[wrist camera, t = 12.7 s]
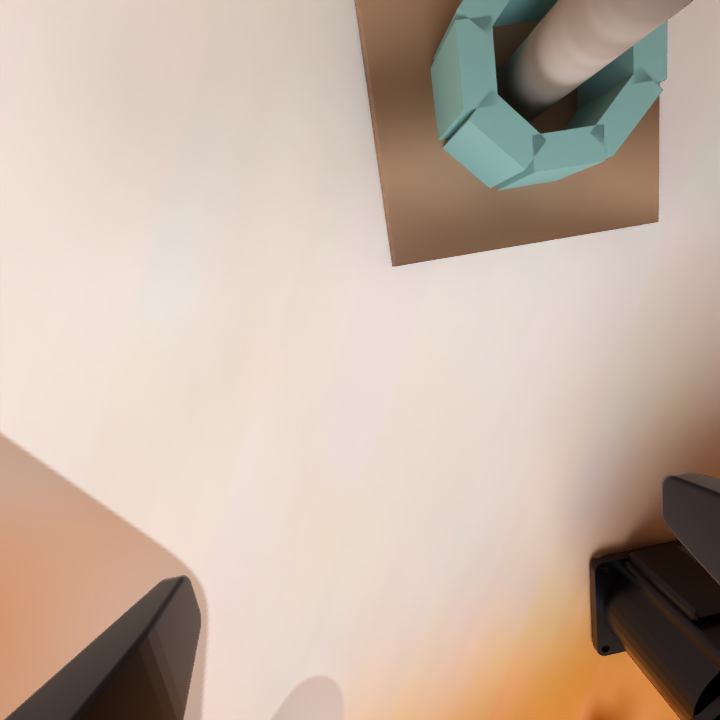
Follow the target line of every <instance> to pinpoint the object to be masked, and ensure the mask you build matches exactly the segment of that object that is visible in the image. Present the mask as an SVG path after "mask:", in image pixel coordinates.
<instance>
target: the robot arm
mask: <svg viewBox="0 0 720 720" xmlns="http://www.w3.org/2000/svg"><path fill="white" fill-rule="evenodd" d="M662 517H663V520H664V522H665V524H666V525H667V527H668V528H669V529H670V531H671V532H672V533H673V534H674V535H675V536H676V537H677V538H678V539H679V541H674V542H670V543H665V544H660V545H656V546H651V547H646V548H642V549H637V550H632V551H628V552H623V553H618V554H614V555H609V556H604V557H600V558H597V559H595V560H593V561H592V563H591V565H590V576H591V603H592V630H593V646H594V648H595V649H596V651H597V652H598V653H599V654H600V655H602V656H606V655H611V654H615V653H620V652H624V651H626V652H627V653H628V655H629V656H630V657H631V658H632V659H633V661H634V662H635V663H636V664H637V666H638V667H639V668H640V669H641V671H642V672H643V673H644V674H645V676H646V677H647V678H648V679H649V681H650V682H651V683H652V684H653V686H654V687H655V688H656V689H657V691H658V692H659V693H660V694H661V696H662V697H663V698H664V699H665V701H666V702H667V703H668V704H669V706H670V707H671V708H672V709H673V711H674V712H675V713H676V714H677V716H678V717H679V718H680V719H681V720H720V479H718V478H714V477H709V476H705V475H700V474H696V473H692V472H682V473H677V474H672V475H668V476H666V477H665V478H664V479H663V481H662ZM200 628H201V614H200V609H199V606H198V603H197V600H196V597H195V593H194V590H193V587H192V584H191V581H190V579H189V578H188V577H187V576H185V575H182V576H177V577H172V578H168V579H164V580H162V581H161V582H160V583H158V584H157V585H156V586H155V587H154V588H153V589H151V590H150V591H149V592H148V593H147V594H146V595H145V596H144V597H142V598H141V599H140V600H139V601H138V602H137V603H136V604H135V605H133V606H132V607H131V608H130V609H129V610H128V611H127V612H125V613H124V614H123V615H122V616H121V617H120V618H119V619H118V620H117V621H115V622H114V623H113V624H112V625H111V626H110V627H108V629H106V630H105V631H104V632H103V633H102V634H101V635H99V636H98V637H97V638H96V639H95V640H94V641H93V642H92V643H90V644H89V645H88V646H87V647H86V648H85V649H84V650H82V651H81V652H80V653H79V654H78V655H77V656H76V657H75V658H74V659H72V660H71V661H70V662H69V663H68V664H67V665H66V666H64V667H63V668H62V669H61V670H60V671H59V672H58V673H56V674H55V676H53V677H52V678H51V679H50V680H49V681H47V682H46V683H45V684H44V685H43V686H42V687H41V688H39V689H38V690H37V691H36V692H35V693H34V694H33V695H32V696H31V697H29V698H28V699H27V700H26V701H25V702H24V703H22V704H21V705H20V706H19V707H18V708H17V709H16V710H15V711H14V712H12V713H11V714H10V715H9V716H8V717H7V718H6V719H4V720H184V714H185V710H186V704H187V698H188V693H189V688H190V682H191V677H192V672H193V666H194V661H195V655H196V650H197V644H198V639H199V633H200Z"/></svg>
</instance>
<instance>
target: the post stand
mask: <svg viewBox="0 0 720 720" xmlns="http://www.w3.org/2000/svg"><path fill="white" fill-rule="evenodd" d="M462 1H463V0H355V4H356V11H357V19H358V26H359V33H360V40H361V47H362V54H363V61H364V68H365V75H366V82H367V89H368V96H369V103H370V110H371V117H372V124H373V132H374V139H375V146H376V153H377V160H378V167H379V174H380V181H381V188H382V195H383V202H384V209H385V216H386V223H387V230H388V237H389V245H390V252H391V259H392V266H400V265H406V264H412V263H418V262H424V261H429V260H435V259H441V258H447V257H453V256H459V255H465V254H471V253H477V252H483V251H489V250H494V249H500V248H506V247H512V246H518V245H524V244H530V243H536V242H542V241H548V240H554V239H560V238H565V237H571V236H577V235H583V234H589V233H595V232H601V231H607V230H613V229H619V228H625V227H630V226H636V225H642V224H648V223H654V222H658V209H659V96H658V97H657V99H656V100H655V101H654V102H653V104H652V105H651V106H650V108H649V109H648V110H647V112H646V113H645V114H644V116H643V117H642V118H641V120H640V121H639V122H638V124H637V125H636V126H635V128H634V129H633V130H632V132H631V133H630V134H629V136H628V137H627V138H626V140H625V141H624V142H623V144H622V145H621V146H620V148H619V149H618V150H617V152H616V153H615V154H614V156H611V157H609V158H606V159H605V161H604V162H601V163H599V164H596V165H594V166H591V167H589V168H586V169H584V170H582V171H579V172H577V173H574V174H572V175H569V176H567V177H564V178H562V179H559V180H557V181H552V182H546V183H540V184H534V185H528V186H522V187H516V188H510V189H504V190H497V185H495V186H493V187H492V188H489V187H488V186H487V185H485V184H484V183H483V182H482V181H481V180H479V179H478V178H477V177H476V176H475V175H474V174H472V173H471V172H470V171H469V170H468V169H467V168H465V167H464V166H463V165H462V164H461V163H459V162H458V161H457V160H456V159H455V158H454V157H452V156H451V155H450V154H449V153H448V152H447V151H445V150H444V149H443V147H444V145H445V144H446V142H447V141H448V140H449V138H448V139H442V140H438V132H437V123H436V114H435V105H434V96H433V87H432V78H431V69H430V68H431V66H432V64H433V62H434V59H433V57H434V55H435V53H436V51H437V49H438V47H439V45H440V43H441V41H442V39H443V37H444V35H445V33H446V31H447V29H448V27H449V25H450V23H451V21H452V19H453V17H454V15H455V13H456V11H457V9H458V7H459V6H460V4H461V3H462ZM692 1H693V0H558V1H557V3H556V4H555V5H554V6H553V7H552V8H551V10H550V11H549V12H548V13H547V14H546V16H545V17H544V18H543V19H542V20H538V21H531V22H524V23H517V24H510V25H503V26H496V27H492V29H493V41H494V54H495V67H496V79H497V92H498V95H499V96H500V97H501V98H502V99H503V100H504V101H505V102H506V103H507V104H509V105H510V106H511V107H512V108H513V109H514V110H515V111H516V112H517V113H518V114H519V115H521V116H522V117H523V118H524V119H525V120H526V121H527V122H528V123H529V124H530V125H531V126H533V127H534V128H535V129H536V130H537V131H538V132H539V133H540V134H543V133H550V132H556V131H562V130H564V128H565V127H566V126H567V124H568V123H569V122H570V120H571V119H572V118H573V116H574V115H575V113H576V112H577V111H578V95H577V87H578V86H579V85H581V84H582V83H583V82H585V81H586V80H587V79H589V78H590V77H591V76H593V75H594V74H595V73H597V72H598V71H599V70H601V69H602V68H604V67H605V66H606V65H608V64H609V63H610V62H612V61H613V60H614V59H616V58H617V57H618V56H620V55H621V54H622V53H624V52H625V51H626V50H628V49H629V48H630V47H632V46H633V45H634V44H636V43H637V42H639V41H640V40H641V39H643V38H644V37H645V36H647V35H648V34H649V33H651V32H652V31H653V30H655V29H656V28H657V27H659V26H660V25H661V24H663V23H664V22H665V21H667V20H668V19H670V18H671V17H672V16H674V15H675V14H676V13H678V12H679V11H680V10H682V9H683V8H684V7H686V6H687V5H688V4H690V3H691V2H692ZM658 85H659V83H658Z"/></svg>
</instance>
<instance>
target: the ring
mask: <svg viewBox="0 0 720 720" xmlns="http://www.w3.org/2000/svg"><path fill="white" fill-rule="evenodd" d="M557 1H558V0H463V1H462V3H461V4H460V6H459V7H458V9H457V11H456V13H455V15H454V17H453V19H452V21H451V23H450V25H449V27H448V29H447V31H446V33H445V35H444V37H443V39H442V41H441V43H440V45H439V47H438V49H437V51H436V53H435V55H434V57H433V59H434V62H433V64H432V66H431V68H430V69H431V78H432V87H433V96H434V105H435V114H436V123H437V132H438V140H442V139H448V138H449V140H448V141H447V142H446V144H445V145H444V147H443V149H444V150H445V151H447V152H448V153H449V154H450V155H451V156H452V157H454V158H455V159H456V160H457V161H458V162H459V163H461V164H462V165H463V166H464V167H465V168H467V169H468V170H469V171H470V172H471V173H472V174H474V175H475V176H476V177H477V178H478V179H479V180H481V181H482V182H483V183H484V184H485V185H487V186H488V187H489V188H492V187H493V186H495V185H497V190H504V189H510V188H516V187H522V186H528V185H534V184H540V183H546V182H552V181H557V180H559V179H562V178H564V177H567V176H569V175H572V174H574V173H577V172H579V171H582V170H584V169H586V168H589V167H591V166H594V165H596V164H599V163H601V162H604V161H605V159H606V158H609V157H611V156H614V154H615V153H616V152H617V150H618V149H619V148H620V146H621V145H622V144H623V142H624V141H625V140H626V138H627V137H628V136H629V134H630V133H631V132H632V130H633V129H634V128H635V126H636V125H637V124H638V122H639V121H640V120H641V118H642V117H643V116H644V114H645V113H646V112H647V110H648V109H649V108H650V106H651V105H652V104H653V102H654V101H655V100H656V99H657V97H658V96H659V95H660V93H661V92H662V91H663V89H662V88H661V87H660V86H659V85H658V83H660V82H662V81H664V80H665V79H667V21H665V22H664V23H663V24H661V25H660V26H659V27H657V28H656V29H655V30H653V31H652V32H651V33H649V34H648V35H647V36H645V37H644V38H643V39H641V40H640V41H639V42H637V43H636V44H634V45H633V46H632V47H630V48H629V49H628V50H626V51H625V52H624V53H622V54H621V55H620V56H618V57H617V58H616V59H614V60H613V61H612V62H610V63H609V64H608V65H606V66H605V67H604V68H602V69H601V70H599V71H598V72H597V73H595V74H594V75H593V76H591V77H590V78H589V79H587V80H586V81H585V82H583V83H582V84H581V85H579V86H578V87H577V95H578V111H577V112H576V113H575V115H574V116H573V118H572V119H571V120H570V122H569V123H568V124H567V126H566V127H565V128H564V130H562V131H556V132H550V133H543V134H540V133H539V132H538V131H537V130H536V129H535V128H534V127H533V126H531V125H530V124H529V123H528V122H527V121H526V120H525V119H524V118H523V117H522V116H521V115H519V114H518V113H517V112H516V111H515V110H514V109H513V108H512V107H511V106H510V105H509V104H507V103H506V102H505V101H504V100H503V99H502V98H501V97H500V96H499V95H498V92H497V79H496V67H495V54H494V41H493V29H492V27H496V26H503V25H510V24H517V23H524V22H531V21H538V20H542V19H543V18H544V17H545V16H546V14H547V13H548V12H549V11H550V10H551V8H552V7H553V6H554V5H555V4H556V3H557Z"/></svg>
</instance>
